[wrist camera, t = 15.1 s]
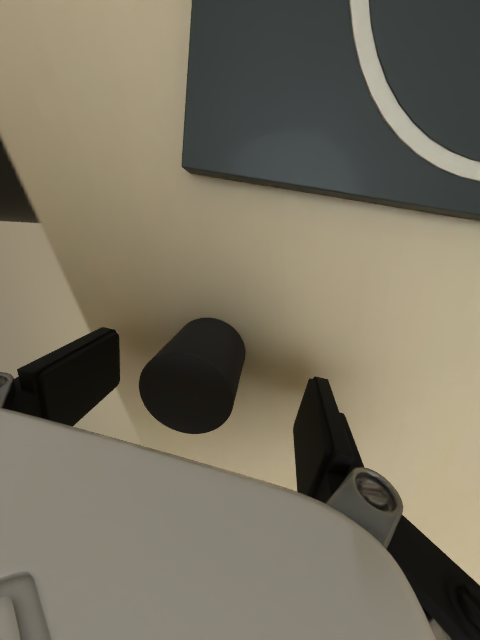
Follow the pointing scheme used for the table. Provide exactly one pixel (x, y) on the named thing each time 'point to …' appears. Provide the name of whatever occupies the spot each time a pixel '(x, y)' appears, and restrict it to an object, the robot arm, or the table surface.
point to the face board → (339, 99)
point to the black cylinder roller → (194, 377)
